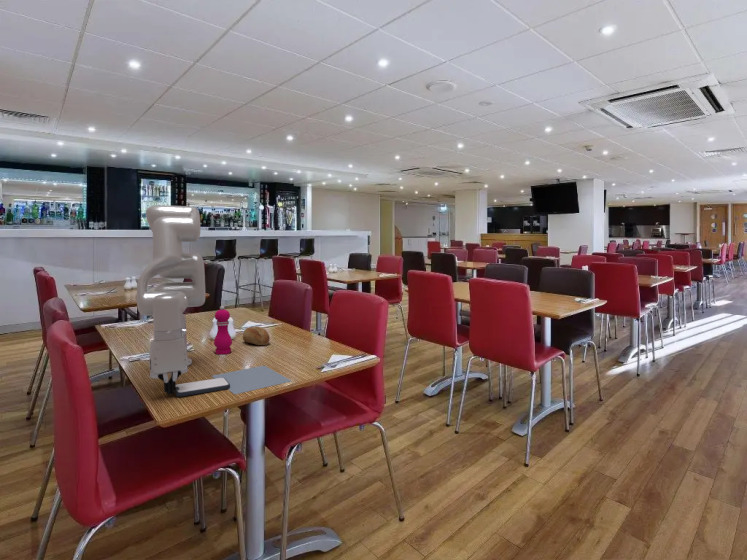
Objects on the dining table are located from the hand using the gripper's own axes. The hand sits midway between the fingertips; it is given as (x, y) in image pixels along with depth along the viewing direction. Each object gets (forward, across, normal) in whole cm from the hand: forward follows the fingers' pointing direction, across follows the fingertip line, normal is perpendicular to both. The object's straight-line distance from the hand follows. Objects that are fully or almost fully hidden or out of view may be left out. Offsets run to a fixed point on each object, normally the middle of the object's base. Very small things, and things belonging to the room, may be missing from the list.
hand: (170, 393), depth 130 cm
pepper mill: (+1, -30, -39) cm, 49 cm away
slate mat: (+1, -26, 0) cm, 26 cm away
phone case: (+1, -10, 0) cm, 10 cm away
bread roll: (+1, -47, -45) cm, 65 cm away
